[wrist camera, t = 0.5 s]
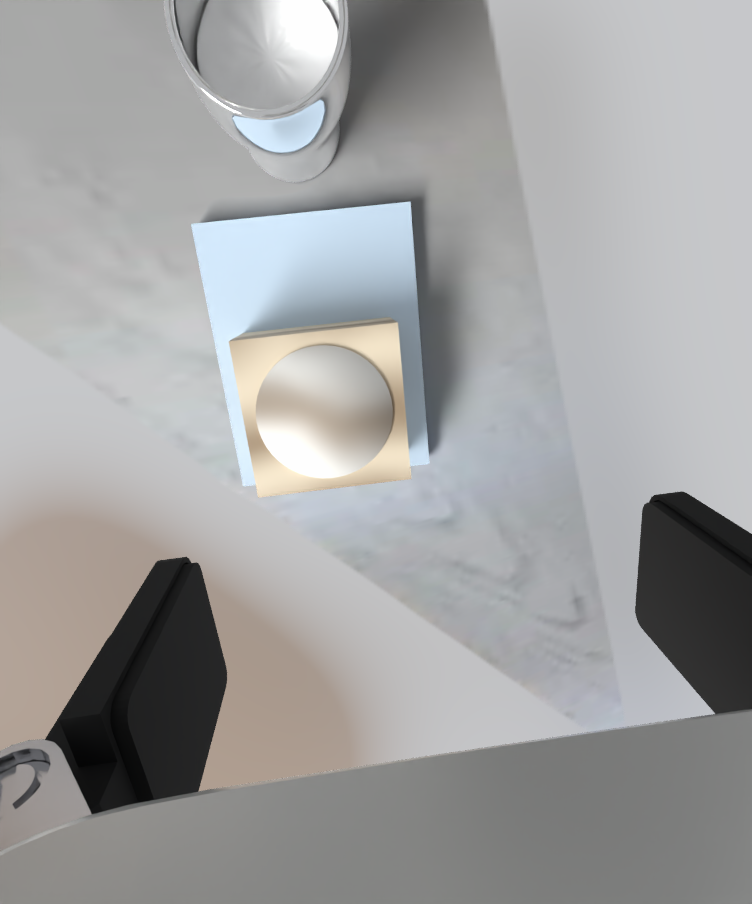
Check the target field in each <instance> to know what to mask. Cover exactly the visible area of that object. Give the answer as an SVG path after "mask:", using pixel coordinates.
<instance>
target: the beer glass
mask: <svg viewBox="0 0 752 904" xmlns="http://www.w3.org/2000/svg"><path fill="white" fill-rule="evenodd" d="M164 13H165V20H166V25H167V30H168V33H169V37H170V40H171V43H172V46H173V48H174V51H175V53H176V55H177V57H178V59H179V61H180V63H181V65H182V66H183V68H184V70H185V71H186V73H187V75H188V77H189V79H190V81H191V83H192V85H193V87H194V89H195V91H196V93H197V94H198V96H199V98H200V99H201V101H202V102H203V104H204V106H205V107H206V109H207V110H208V112H209V113H210V115H211V116H212V117H213V118H214V120H215V121H216V122H217V123H218V124H219V125H220V126H221V127H222V128H223V130H224V131H225V132H226V133H227V134H228V135H229V136H230V137H232V138H233V139H234V140H235V141H237V142H238V143H239V144H241V145H242V146H244V147H246V148H247V149H248V151H249V153H250V154H251V156H252V158H253V159H254V161H255V162H256V163H257V165H258V166H259V167H260V168H261V169H262V170H263V171H265V172H266V173H267V174H269V175H270V176H272V177H274V178H276V179H279V180H281V181H285V182H303V181H307V180H310V179H312V178H314V177H316V176H317V175H319V174H320V173H321V172H323V171H324V170H325V169H326V168H327V166H328V165H329V164H330V162H331V161H332V159H333V157H334V155H335V153H336V150H337V146H338V142H339V132H340V128H339V118H340V116H341V114H342V112H343V109H344V106H345V103H346V100H347V95H348V90H349V83H350V76H351V40H350V30H349V22H348V5H347V0H164Z"/></svg>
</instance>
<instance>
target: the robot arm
mask: <svg viewBox="0 0 752 904" xmlns="http://www.w3.org/2000/svg"><path fill="white" fill-rule="evenodd" d="M635 613H636V617H637V620H638V623H639V625H640V626H641V628H642V629H643V630H644V631H645V633H646V634H647V635H648V636H649V637H650V638H651V639H652V641H653V642H654V643H655V644H656V645H657V646H658V648H659V649H660V650H661V651H662V652H663V653H664V655H665V656H666V657H667V658H668V659H669V660H670V662H671V663H672V664H673V665H674V666H675V667H676V669H677V670H678V671H679V672H680V673H681V674H682V675H683V677H684V678H685V679H686V680H687V681H688V682H689V684H690V685H691V686H692V687H693V688H694V689H695V690H696V692H697V693H698V694H699V695H700V696H701V698H702V699H703V700H704V701H705V702H706V703H707V704H708V706H709V707H710V708H711V709H712V710H713V711H714V712H715V714H713V715H705V716H699V717H691V718H685V719H678V720H670V721H664V722H656V723H649V724H642V725H635V726H628V727H621V728H614V729H607V730H600V731H593V732H587V733H580V734H573V735H566V736H560V737H552V738H546V739H539V740H532V741H526V742H519V743H512V744H505V745H499V746H492V747H485V748H478V749H472V750H465V751H458V752H451V753H445V754H438V755H431V756H425V757H418V758H411V759H405V760H398V761H392V762H386V763H379V764H373V765H366V766H359V767H354V768H347V769H340V770H333V771H327V772H320V773H314V774H307V775H302V776H294V777H288V778H282V779H275V780H268V781H262V782H255V783H249V784H242V785H236V786H230V787H222V788H216V789H210V790H205V791H199V792H198V790H199V787H200V783H201V779H202V775H203V772H204V768H205V764H206V760H207V757H208V753H209V749H210V745H211V742H212V737H213V734H214V730H215V726H216V723H217V719H218V714H219V711H220V707H221V703H222V700H223V696H224V692H225V688H226V683H227V670H226V665H225V661H224V657H223V653H222V649H221V646H220V641H219V637H218V633H217V630H216V626H215V622H214V618H213V614H212V610H211V606H210V602H209V599H208V594H207V590H206V587H205V583H204V579H203V575H202V571H201V568H200V565H199V564H198V563H191V562H190V560H189V558H187V557H182V558H176V559H167V560H160V561H157V562H156V563H155V565H154V567H153V568H152V570H151V571H150V573H149V575H148V576H147V578H146V580H145V581H144V583H143V584H142V586H141V588H140V589H139V591H138V592H137V594H136V596H135V597H134V599H133V600H132V602H131V604H130V605H129V607H128V609H127V610H126V612H125V614H124V615H123V617H122V618H121V620H120V621H119V623H118V625H117V626H116V628H115V630H114V631H113V633H112V634H111V636H110V637H109V638H108V639H107V641H106V642H105V644H104V646H103V647H102V649H101V651H100V652H99V654H98V655H97V657H96V659H95V660H94V662H93V663H92V665H91V667H90V668H89V670H88V671H87V673H86V675H85V676H84V678H83V679H82V681H81V683H80V684H79V686H78V687H77V689H76V691H75V692H74V694H73V695H72V697H71V699H70V700H69V702H68V703H67V705H66V707H65V708H64V710H63V712H62V713H61V715H60V716H59V718H58V719H57V721H56V723H55V724H54V726H53V728H52V729H51V731H50V732H49V734H48V736H47V737H46V739H45V740H44V739H42V740H28V741H25V742H22V743H18V744H15V745H11V746H10V747H7V748H5V749H3V750H1V751H0V904H752V534H751V533H749V532H748V531H746V530H744V529H743V528H741V527H739V526H738V525H737V524H735V523H733V522H732V521H730V520H729V519H727V518H725V517H724V516H722V515H721V514H719V513H717V512H715V511H714V510H713V509H711V508H709V507H708V506H706V505H705V504H703V503H701V502H700V501H698V500H697V499H695V498H694V497H692V496H690V495H689V494H687V493H685V492H675V493H667V494H659V495H654V496H653V497H652V498H651V500H650V502H649V503H646V504H645V505H644V507H643V511H642V524H641V537H640V551H639V565H638V579H637V593H636V606H635Z"/></svg>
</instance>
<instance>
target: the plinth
mask: <svg viewBox="0 0 752 904" xmlns="http://www.w3.org/2000/svg"><path fill="white" fill-rule="evenodd" d="M229 347H230V352H231V357H232V362H233V368H234V373H235V378H236V383H237V389H238V394H239V399H240V404H241V410H242V415H243V420H244V425H245V431H246V436H247V441H248V446H249V452H250V457H251V462H252V467H253V473H254V478H255V483H256V488H257V494H258V498H259V497H267V496H275V495H283V494H291V493H300V492H308V491H316V490H324V489H332V488H341V487H349V486H357V485H365V484H373V483H382V482H390V481H398V480H406V479H411V470H410V458H409V446H408V435H407V423H406V411H405V400H404V388H403V376H402V364H401V353H400V341H399V329H398V322H396V321H395V320H393V319H392V318H390V317H384V318H375V319H366V320H357V321H348V322H339V323H330V324H321V325H312V326H303V327H294V328H285V329H275V330H266V331H257V332H248V333H242V334H241V335H239V336H237V337H235V338H233V339H232V340H230V341H229Z"/></svg>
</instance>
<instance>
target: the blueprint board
mask: <svg viewBox="0 0 752 904" xmlns="http://www.w3.org/2000/svg"><path fill="white" fill-rule="evenodd" d="M191 226H192V231H193V236H194V241H195V246H196V251H197V257H198V262H199V267H200V272H201V277H202V282H203V287H204V292H205V297H206V302H207V307H208V312H209V317H210V322H211V327H212V332H213V337H214V342H215V347H216V352H217V357H218V362H219V367H220V372H221V377H222V382H223V387H224V392H225V397H226V402H227V407H228V412H229V417H230V422H231V427H232V432H233V437H234V442H235V447H236V452H237V457H238V462H239V467H240V472H241V477H242V482H243V486H250V485H256V483H255V478H254V473H253V467H252V462H251V457H250V452H249V446H248V441H247V436H246V431H245V425H244V420H243V415H242V410H241V404H240V399H239V394H238V389H237V383H236V378H235V373H234V368H233V362H232V357H231V352H230V347H229V341H230V340H232V339H233V338H235V337H237V336H239V335H241V334H242V333H248V332H257V331H266V330H275V329H285V328H294V327H303V326H312V325H321V324H330V323H339V322H348V321H357V320H366V319H375V318H384V317H390V318H392V319H393V320H395V321H396V322H398V329H399V341H400V353H401V364H402V376H403V388H404V400H405V411H406V423H407V435H408V446H409V458H410V466H416V465H424V464H429V451H428V437H427V423H426V409H425V395H424V382H423V368H422V354H421V340H420V326H419V312H418V299H417V285H416V271H415V257H414V243H413V230H412V216H411V202H401V203H392V204H382V205H372V206H362V207H352V208H343V209H333V210H323V211H313V212H303V213H294V214H284V215H274V216H264V217H254V218H245V219H235V220H225V221H215V222H205V223H195V224H191Z"/></svg>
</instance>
